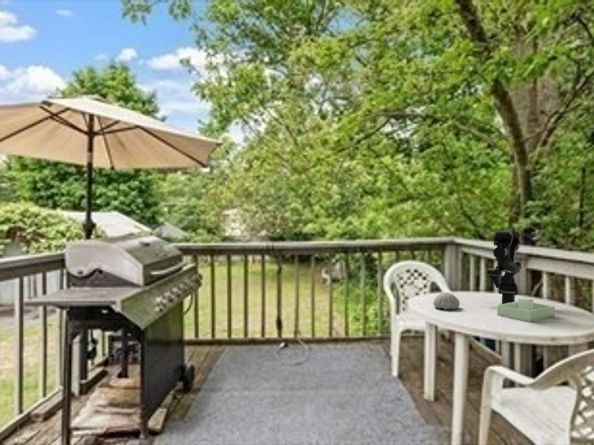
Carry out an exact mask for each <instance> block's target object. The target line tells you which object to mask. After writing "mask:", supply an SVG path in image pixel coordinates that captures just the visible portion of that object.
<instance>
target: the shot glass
mask: <svg viewBox="0 0 594 445" xmlns="http://www.w3.org/2000/svg"><path fill="white" fill-rule="evenodd" d="M517 301H518V303H519V309H523V310H529V311H531V310H533V303H534V299H531V298H518V300H517Z"/></svg>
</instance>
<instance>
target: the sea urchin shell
mask: <svg viewBox="0 0 594 445" xmlns="http://www.w3.org/2000/svg"><path fill="white" fill-rule="evenodd" d="M460 305H461V304H460V300H459V299H458V298H457V296H455V295H454V294H453V293H449V292H442V293H439V294H438V295H436V297H435V298H434V299H433V306H434V308H436V307H438V308H437V309H440V308H445V309H444V310H456V309H458V308H459V307H460Z"/></svg>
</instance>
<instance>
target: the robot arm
mask: <svg viewBox="0 0 594 445" xmlns="http://www.w3.org/2000/svg"><path fill="white" fill-rule="evenodd" d="M493 240H494V241H493V246H494V247H495V246H496V248H494V249H493V252H492V254H493V256H494V258H495V261H497V264H496V265H495V267H490V268H487V269H486V274H487V275H488V276H489V277H490V279H491V280H492V282H493V283H494V284H493V285H494V286H495V288H496V289H498V290H499V291H498V292H499V295H502V296H501V303H500V304H499V305H501V304H506V303H512V302H516V296H517V295H519V287H518V284H517V283H516V282H517V281H516V279H515V278H514V277H515V275H518V274H519V272H520V271H521V269H522V263H521V261H516V252H517V251H518V250H519V249H520V245H521V244H522V237H521V233H520V232H518V231H517V230H516V228H515V227H505V228H504V229H503V230H502V231H496V233H495V234H494V239H493ZM502 273H504V274H503V275H502Z"/></svg>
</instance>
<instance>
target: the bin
mask: <svg viewBox="0 0 594 445" xmlns="http://www.w3.org/2000/svg"><path fill="white" fill-rule="evenodd" d="M500 304H501V305H500ZM500 304H497V309H496V310H497V313H496V315H497V316H499V317H504V318H508V319H509V318H510V319H513V320H517V321H518V320H519V321H523V322H528V323H532V322H538V321H542V320H546V319H551V318H555V316H556V310H555V309H556V307H555V306H554V305H549V304H543V303H539V302H533V310H531V311H529V310H523V309H519V303H518V300H517V301H515V302H512V303H506V304H502V303H500Z"/></svg>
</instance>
